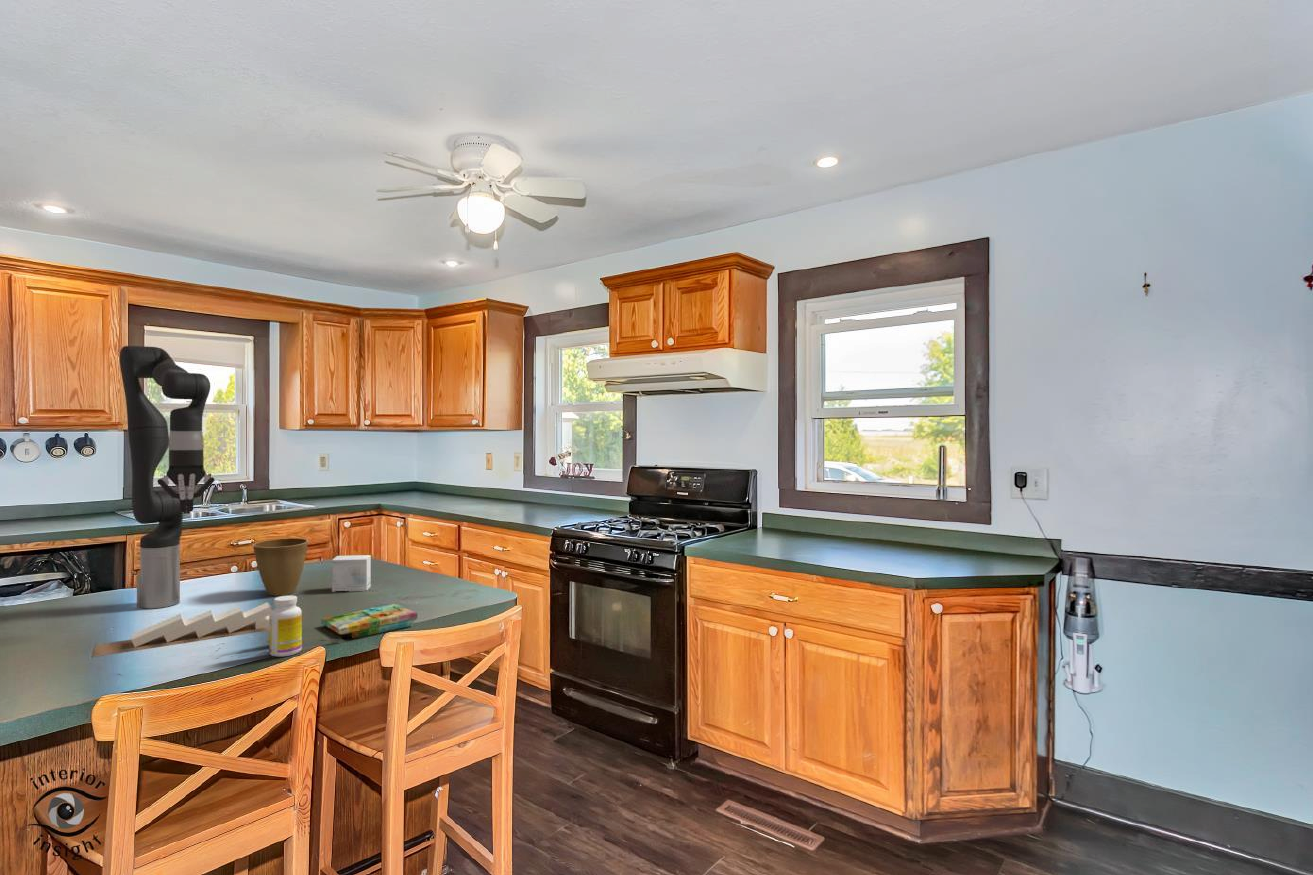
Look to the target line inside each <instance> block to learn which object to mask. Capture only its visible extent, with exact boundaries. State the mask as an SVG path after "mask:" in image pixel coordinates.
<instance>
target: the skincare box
mask: <svg viewBox="0 0 1313 875" xmlns="http://www.w3.org/2000/svg"><path fill="white" fill-rule="evenodd" d="M371 561H372V555H370V554H367V555H366V554H365V555H363V554H360V555H359V554H358V555H355V554H354V555H336V556H335V557H334V558H332V560H331V592H332V593H336V592H335V591H349V592H367V591H368V590H369V589H370V587H371V586H372V583H371V572H372V571H371V570H372V567H371V566H372V564H371V563H372V562H371ZM366 590H367V591H366Z"/></svg>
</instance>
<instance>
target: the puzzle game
mask: <svg viewBox="0 0 1313 875" xmlns="http://www.w3.org/2000/svg"><path fill="white" fill-rule="evenodd" d="M417 618H418V613H417V612H415V611H413V610H411V609H408V608H406V607H404V606H401V605H400V604H396V603H392V604H388V605H383V606H378V607H370V608H368V609H363V610H362V609H361V610H358V611H353V612H348V613H342V614H339V615H338V614H337V615H334V616H333V615H332V616H328V617H323V618H321V619H320V624H322V625H324V626H325V627H327V628H328V629H330V630H331V631H334V632H335V633H337V634H339V635H347V637H350V638H351V639H357V638H363V637H367V636H371V635H377V634H381V633H386V632H391V631H394V630H400V629H404V628H408V627H412V626H413V624H414V622H416V620H417Z"/></svg>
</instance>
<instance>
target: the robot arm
mask: <svg viewBox="0 0 1313 875" xmlns="http://www.w3.org/2000/svg"><path fill="white" fill-rule="evenodd" d="M119 367H120V369H119V370H120V374H121V380H122V385H123V391H124V396H125V404H126V405H125V406H126V417H127V418H126V419H127V433H128V443H129V450H130V463H131V476H132V477H131V509H132V513H133V517H134V519H135V520H136V522H137V523H139V524H141V525H148V524H157V523H158V525H157V527H155V528H154V529H153V530H152V531H151V532H149V533H147V534H145V535H142V536H141V538H140V542H139V561H140V562H139V563H140V564H139V568H140V569H139V572H138V573H137V574H136V607H140V608H143V609H160V608H168V607H171V606H172V607H173V606H175V605H177V604H180V603H181V600H180V599H181V589H180V588H181V581H180V580H181V565H180V564H181V562H180V560H181V553H180V551H181V547H180V546H181V545H180V544H181V543H180V541H181V537H182V534H183V520H184V515H188V514H191V512H193V511H194V500H195V499H196V498H200V497H201V496H203V494H204V493H205V492H206V491H207V490H208V488H210V486H211V485H212V484H213V483H214V482H215V478H214V477H213V476H210V475H208V474H207V471H206V469H205V467H204V465H205V464H204V463H205V462H204V448H205V444H204V435H203V416H204V410H205V407H206V403H207V399H208V398H209V394H210V390H211V382H210V380H209V378H208V377H207V376H206V375H205V374H204V373H203V374H202V373H199V372H197V373H194V372H188V371H187V370H186V369H184V368H183V367H180V366H179V365H178V364H176V362H175V361H174V360H173V358H172V357H171V356H170V354H169V353H168V352H167V351H166V350H165V349H163V348H162V347H157V346H145V345H144V346H142V345H125V346H122V347H121V349H120V351H119ZM140 379H153V380H154V382H155V383H156V384H157V385H158V386H159V387H161V391H162V394H163V395H164V396H165V397H166V398H169V399H172V400H191V402H190V404H189V405H188V406H185V407H181V408H174V409H172V410H171V411H170V413H169V414H170V415H169V426H168V421H167V419H166V417H165V416H164V415H163V414H162V413H161V411H160V410H159V409H158V408H157V407H156V406H155V404H153V402H151V400H150V399H149V398H148V397H147V395H146V394H145V392H144V391H143V389H142V386H141V383H140ZM167 450H168V469H167V471H166V475H164V476H162V477H161V478H159V479H157V484H158V485H160V487H161V488H162V490H161V489H160V490H154V476H155V472H156V470H157V468H158V466H159V464H160V463H161V461H162V459H163V458H164V456H165V454H166V453H167ZM202 479H203V480H202ZM169 480H170V481H171V482H172V483H173V485H175V486H176V487H178V490H176V489H173V488H172V487H171V486H170V485H169V484H170V481H169ZM200 481H203V484H202V485H201V487H199V489H197V491H195V487H196V486H197V485H198V484H199V483H200ZM186 487H188V488H187V497H186ZM194 491H195V492H194Z"/></svg>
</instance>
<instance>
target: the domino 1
mask: <svg viewBox="0 0 1313 875" xmlns="http://www.w3.org/2000/svg"><path fill="white" fill-rule="evenodd" d="M185 621H186V620H185V618H184V616H183V615H182V613H178V614H176V615H175V616H172V617H169V618H168V619H165V620H162V621H159V622H157V623H156V624H153V625H150V626H147V627H146V628H143V629H141V630H138V631H137V632H133V633H132V634H131V639H130V640H132V643H133V645H134V647H137V646H140V645H142V644H144V643H147V642H149V641H151V640H154V639H156V638H158V637H161V636H163V635H165V634H168V633H170V632H172V631H174V630H177V629H179V628H181V627H184V626H185Z"/></svg>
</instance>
